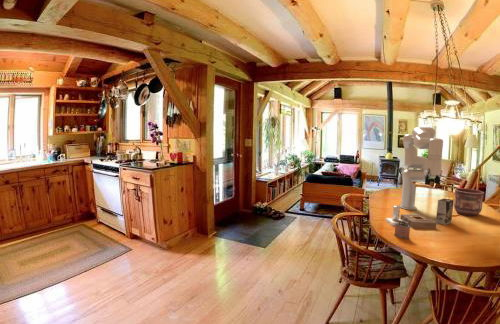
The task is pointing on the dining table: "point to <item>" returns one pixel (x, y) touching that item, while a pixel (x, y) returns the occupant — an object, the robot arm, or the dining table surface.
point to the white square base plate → (391, 221)
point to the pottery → (468, 201)
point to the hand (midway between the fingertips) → (432, 184)
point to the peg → (396, 213)
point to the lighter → (402, 229)
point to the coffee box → (444, 211)
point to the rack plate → (418, 221)
